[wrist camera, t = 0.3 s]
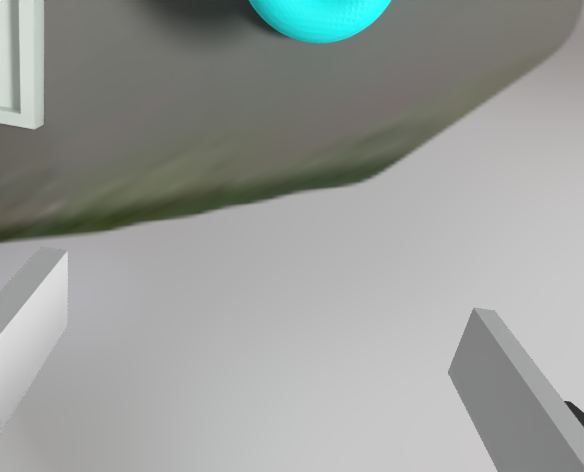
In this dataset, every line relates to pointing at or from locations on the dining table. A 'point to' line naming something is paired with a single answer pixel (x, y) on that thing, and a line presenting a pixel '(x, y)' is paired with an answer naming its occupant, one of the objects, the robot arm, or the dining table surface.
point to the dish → (22, 63)
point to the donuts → (319, 17)
